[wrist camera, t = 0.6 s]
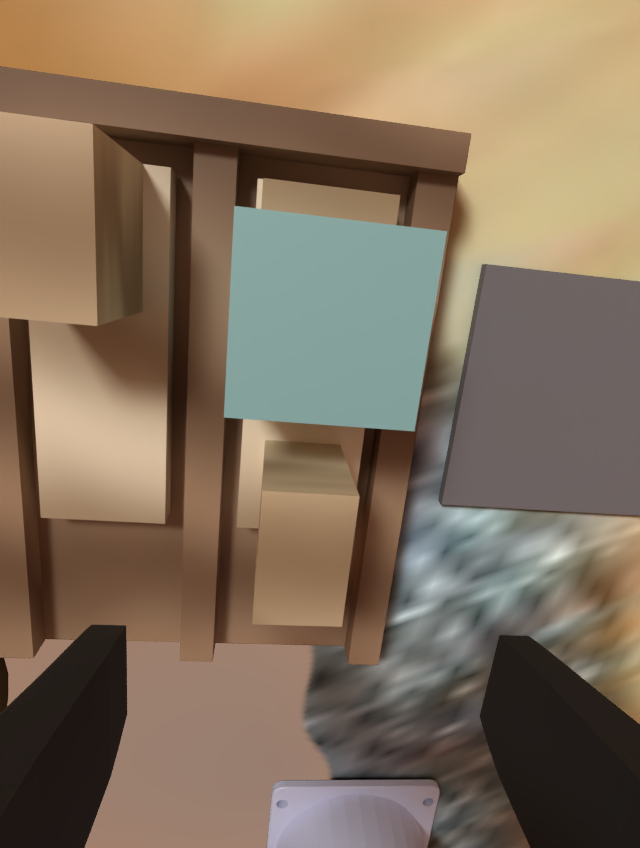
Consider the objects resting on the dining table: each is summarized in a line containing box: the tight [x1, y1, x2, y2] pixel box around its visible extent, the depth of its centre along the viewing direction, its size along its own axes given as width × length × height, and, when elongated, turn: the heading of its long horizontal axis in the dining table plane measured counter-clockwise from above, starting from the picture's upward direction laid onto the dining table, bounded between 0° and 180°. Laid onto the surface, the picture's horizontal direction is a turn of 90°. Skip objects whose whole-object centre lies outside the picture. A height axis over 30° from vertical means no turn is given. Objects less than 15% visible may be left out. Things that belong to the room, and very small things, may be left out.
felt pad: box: [439, 264, 640, 516], centre depth 19 cm, size 9×9×1 cm
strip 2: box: [237, 178, 400, 627], centre depth 15 cm, size 12×4×5 cm, turn 174°
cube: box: [224, 206, 447, 431], centre depth 13 cm, size 4×4×4 cm
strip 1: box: [0, 111, 177, 524], centre depth 14 cm, size 11×4×5 cm, turn 174°
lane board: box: [0, 66, 471, 665], centre depth 17 cm, size 18×14×2 cm
